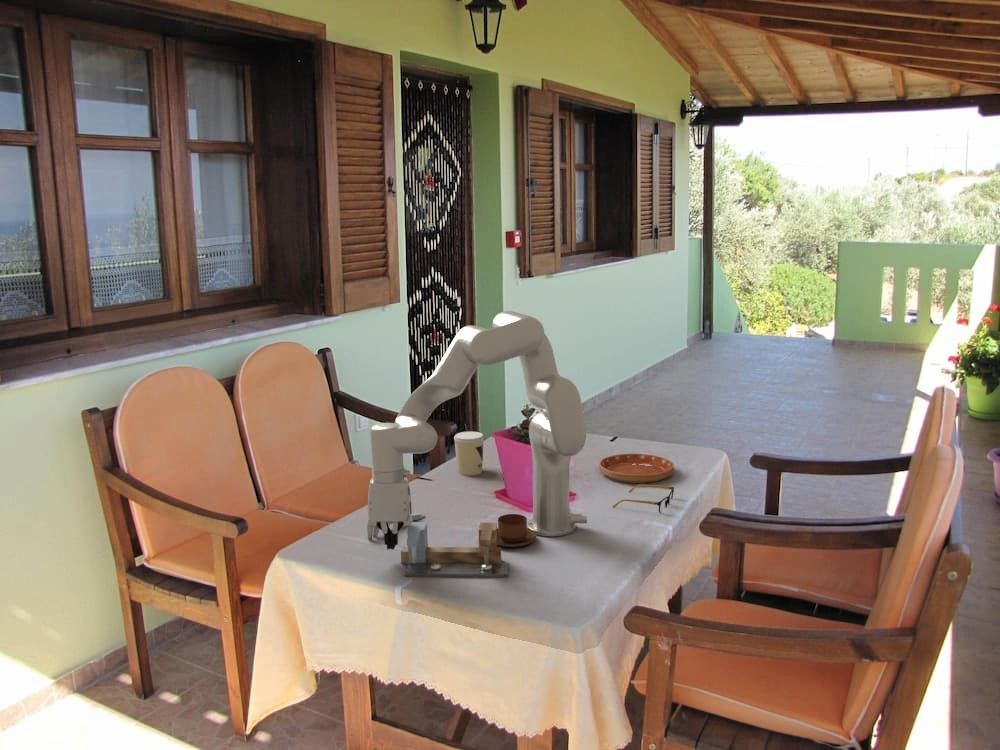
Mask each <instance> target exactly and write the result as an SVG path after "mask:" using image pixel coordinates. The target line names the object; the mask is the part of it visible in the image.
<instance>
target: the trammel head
mask: <svg viewBox="0 0 1000 750" xmlns="http://www.w3.org/2000/svg"><path fill="white" fill-rule="evenodd" d="M428 538H429V537H428V522H425V521H424V522H423V521H422V522H419V521H418V522H417V521H413V522H412V524H411V525H408V528H407V538H406V547H408V556H409V563H426V557H425V550H426V548H427V547H429V542H428Z"/></svg>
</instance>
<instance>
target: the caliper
mask: <svg viewBox="0 0 1000 750" xmlns="http://www.w3.org/2000/svg"><path fill="white" fill-rule="evenodd" d="M411 517H412V520H413V522H415V521H418V520H421V519H423V518H426V515H424V514H423V513H419V512H418V513H413V514H411ZM388 523H389V526H390V525H393V522H388ZM366 527H367V528H366V529H367V530H366V531H367V539H369V540H373V538H374V537H375V539H376V537H377V538H378V536H379V533H380V531H381V530H380V529H379V528H378V527H377V526H373V525H369V524H368V523H367V526H366Z"/></svg>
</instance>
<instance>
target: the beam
mask: <svg viewBox="0 0 1000 750" xmlns="http://www.w3.org/2000/svg"><path fill="white" fill-rule="evenodd" d="M497 528H498V522H480V523H479V526H478V547H475V546H473V547H471V546H470V547H468V546H467V547H466V546H464V547H463V546H462V547H461V546H460V547H459V546H458V547H457V546H455V547H454V546H452V547H451V546H450V547H448V546H446V547H445V546H440V547H439V546H438V547H437V546H428V547H427V548H426V550H425V557H426V563H485V564H502V547H498V545H497ZM400 561H401V562H400V563H401V564H407V565H408V563H409V556H408V546H402V548H401V550H400Z"/></svg>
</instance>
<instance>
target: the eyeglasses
mask: <svg viewBox="0 0 1000 750" xmlns="http://www.w3.org/2000/svg"><path fill="white" fill-rule="evenodd" d="M638 487H647V488H649V487H650V488H654V489H655V488H657V489H664V490H671V491H670V492H669V494H668V495H667V496H665V497H664V498H662V499H661V500H660V501H649V500H639V499H638V500H637V499H621V500H619V501H618V502H616V503H615V504H614V505H612V506H611V507H612V509H613V508H616V507H617V506H619V504H620V503H623V502H632V503H640V504H648V505H654V506H658V513H659V512H660V513H661V505H662V503H663V501H664V506H665V507H666V508H667V507H668V505H670V501H671V499H672V500H673V497H674V492H675V491H674V489H675V487H674V486H667V485H655V484H654V485H653V484H637V485H635V486H633V487H632V488H630V489H629V490H628V491H629V492H628V493H632V492H633V491H634V490H635V489H636V488H638ZM665 507H664V508H665Z"/></svg>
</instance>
